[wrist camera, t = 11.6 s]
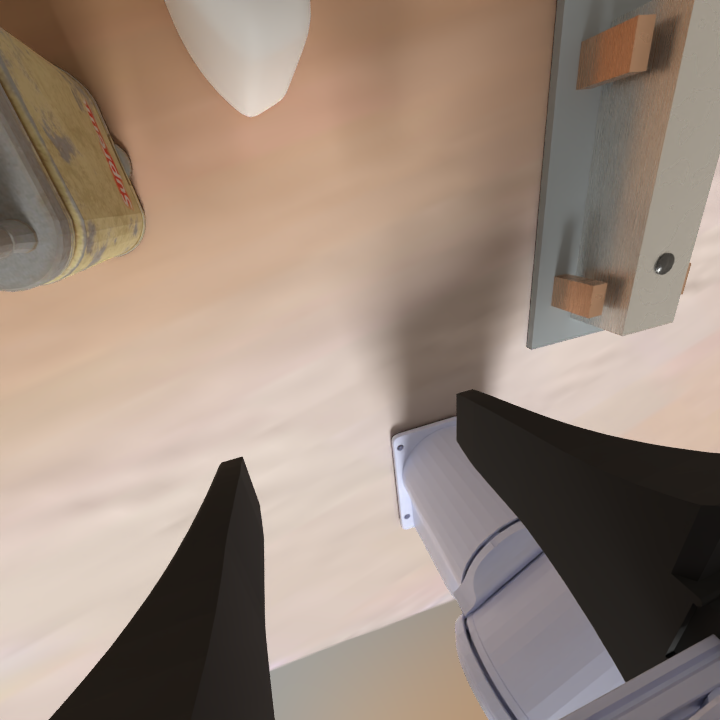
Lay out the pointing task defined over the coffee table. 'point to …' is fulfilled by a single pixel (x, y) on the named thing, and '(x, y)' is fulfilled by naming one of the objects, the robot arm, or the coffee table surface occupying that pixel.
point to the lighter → (57, 176)
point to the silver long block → (653, 168)
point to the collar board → (577, 156)
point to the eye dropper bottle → (244, 46)
